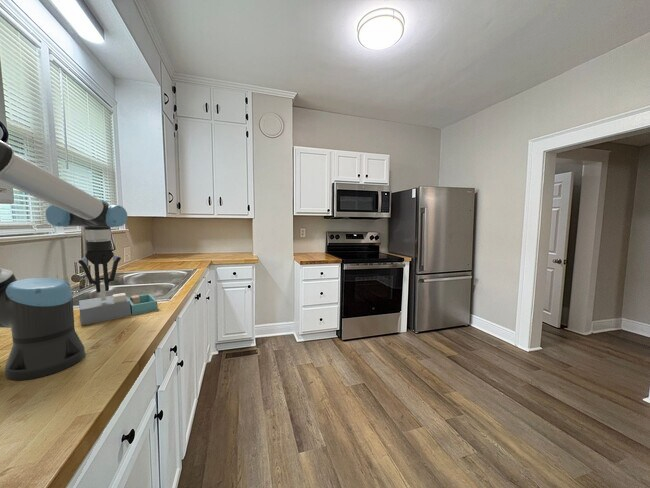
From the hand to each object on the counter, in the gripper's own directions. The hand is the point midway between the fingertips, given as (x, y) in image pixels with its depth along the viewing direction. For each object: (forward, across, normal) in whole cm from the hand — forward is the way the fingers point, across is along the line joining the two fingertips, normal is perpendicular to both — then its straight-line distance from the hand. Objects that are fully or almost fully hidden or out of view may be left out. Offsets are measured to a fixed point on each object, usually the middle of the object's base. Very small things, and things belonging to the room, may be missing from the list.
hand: (103, 299), depth 105 cm
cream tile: (+2, -5, 0) cm, 5 cm away
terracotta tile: (+5, -10, -7) cm, 13 cm away
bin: (+8, -13, -3) cm, 15 cm away
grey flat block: (+8, 0, -3) cm, 8 cm away
